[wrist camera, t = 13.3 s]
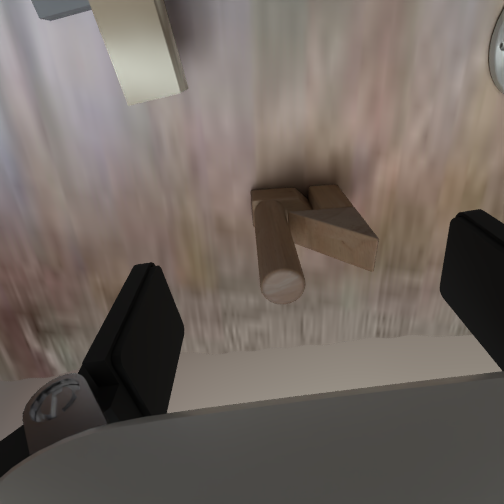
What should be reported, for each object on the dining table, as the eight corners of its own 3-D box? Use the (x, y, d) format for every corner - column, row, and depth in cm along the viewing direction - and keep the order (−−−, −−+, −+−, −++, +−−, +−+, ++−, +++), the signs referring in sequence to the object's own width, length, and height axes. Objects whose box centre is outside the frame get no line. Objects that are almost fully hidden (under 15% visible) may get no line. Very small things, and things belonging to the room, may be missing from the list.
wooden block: (335, 210, 41) (391, 299, 26) (252, 215, 42) (259, 308, 26) (337, 182, 40) (399, 261, 24) (250, 188, 40) (257, 271, 24)
